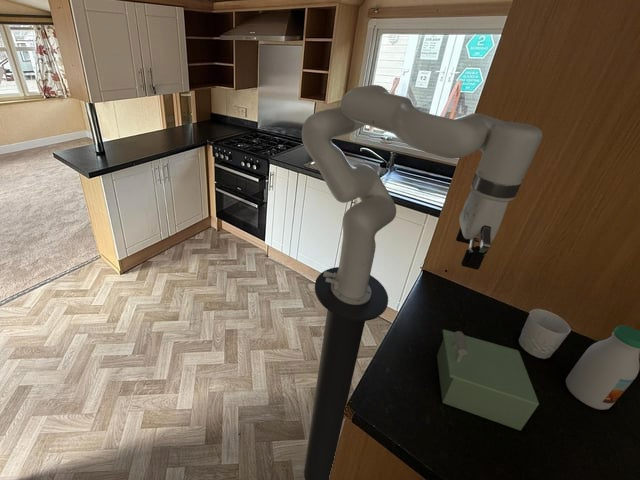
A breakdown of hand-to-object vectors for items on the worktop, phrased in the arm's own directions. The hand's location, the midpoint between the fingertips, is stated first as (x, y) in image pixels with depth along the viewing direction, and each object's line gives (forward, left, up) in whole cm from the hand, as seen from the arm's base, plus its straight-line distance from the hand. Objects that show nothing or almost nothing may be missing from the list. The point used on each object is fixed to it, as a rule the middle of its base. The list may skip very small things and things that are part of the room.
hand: (466, 253), depth 70 cm
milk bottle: (+32, 0, -31) cm, 44 cm away
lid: (+8, -9, -22) cm, 25 cm away
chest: (+8, -9, -30) cm, 33 cm away
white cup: (+25, +10, -31) cm, 41 cm away
